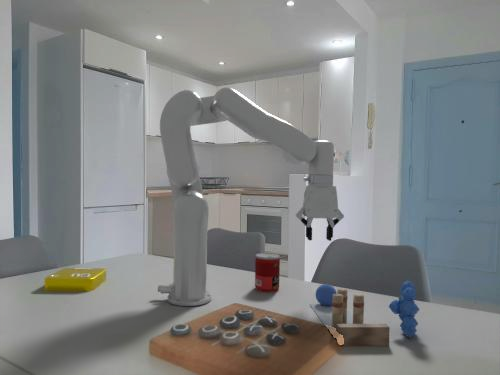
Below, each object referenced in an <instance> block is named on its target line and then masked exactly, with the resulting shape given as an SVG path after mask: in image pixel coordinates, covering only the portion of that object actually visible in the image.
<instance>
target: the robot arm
mask: <svg viewBox="0 0 500 375" xmlns="http://www.w3.org/2000/svg"><path fill="white" fill-rule="evenodd" d="M161 111H162V112H161V115H160V117H159V118H160V119H159V120H160V121H159V130H160V131H159V132H160V134H159V135H160V139H161V145H162V150H163V155H164V160H165V164H166V174H167V178H168V181H169V182H168V183H169V187H170V191H171V195H172V199H173V203H174V209H173V210H174V211H173V221H174V222H173V228H174V230H173V275H172V276H173V280H172V283H170V284H168V285H164V284H158V286H157V292H158V293H160V294H168V295H167V302H168V303H170V304H171V305H175V306H179V307H181V306H182V307H194V306H200V305H205V304H208V303H209V302H211V300H212V295H211V293H209V292H208V291H207V273H208V272H207V268H208V267H207V265H208V264H207V263H208V262H207V261H208V259H207V258H208V229H209V228H208V227H209V226H208V225H209V204H208V201H207V199H206V196H205V195H204V190H203V187H202V181H201V177H200V167H199V164H198V161H197V158H196V154H195V149H194V144H193V138H192V134H191V127H193V126H201V125H208V124H217V123H222V122H226V121H228V122H230V123H231V124H233V125H234V126H235V127H236V128H238V129H240V130H241V131H243V132H244V133H246V134H247V135H249V136H250V137H252V138H254V139H256V140H259V141H264V142H268V143H270V144H272V145H274V146H276V147H278V148H279V149H281V150H282V156H283V159H284V161H285V162H287V163H289V164H290V165H301V164H302V165H304V164H308V174H307V176H305V177H303V182H306V183H307V185H305V189H304V195H303V205H302V206H301V208H300V209H299V210H298V211H297V212H296V213H295V217H296V218H297V219H298V220H299V221H300V222H301V223H302V224H303V225H304V226H305V237H306V238H307V240H308V241H312V240H313V227H312V224H313V220H314V219H326V221H327V226H326V234H325V236H326V237H325V238H326V240H327V241H329V242H330V241H332V239H333V237H334V228H335V226H336V225H337V224H339V222H340V221H342V220H343V219H344V218H345V214H343V212H341V210H340V209H339V205H338V204H339V203H338V202H339V201H338V191H337V186H336V185H334V162H335V161H334V158H335V157H334V156H335V146H334V142H332V141H329V140H314V141H313V139H312V138H311V137H310V136H308V135H307V134H305V133H304V132H303V131H302V130H300V129H298V128H297V127H296V126H295V125H293V124H291V123H290V122H289V123H288V122H287V121H286V120H283V119H281V118H279V117H277V116H275V115H272V114H271V113H268V112H267V111H266V110H264V109H262V108H261V107H259V105H256V103H254V102H253V101H251V100H250V99H248V98H247V97H246V96H244V95H243V94H241V93H240V92H239V91H237V90H236V89H234V88H232V87H229V86H228V87H227V86H226V87H221V88H220V89H219V90H218V91H216V93H215V94H214V95H210V96H204V97H200V95H199V94H198V93H197V92H195V91H193V90H190V89H184V90H180V91H178V92H177V93H175V94H174V95H172V97H171V98H170V99H169V100H168V101H167V102H166V104H165V105H164V106H163V109H162V110H161ZM305 217H306V219H305Z"/></svg>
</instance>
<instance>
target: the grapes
mask: <svg viewBox="0 0 500 375" xmlns="http://www.w3.org/2000/svg"><path fill="white" fill-rule="evenodd" d="M399 291H400V293H401V295H399V297H398V300H397V299H394V300H392V301H391V302H390V303H389V305H388V307H389V309H390V311H391V312H392V313H393V314H394V315H398V318H399V319H400V320H401V323H400V324H399V326H400V328H401V329H400V330H401V331H402V332H403V334H404V335H405V336H406V337H408V338H412V337H413V336H415V334H416V332H417V331H418V329H417V328H416V327H417V326H418V325H419V322H418V321H417V319H416V318H415V317H416V315H417V314H418V312H419V311H420V308H419V307H418V305H417V304H416V302H415V301H414V300H415V299H416V298H417V297H418V294H417V293H416V287H415V285H414V283H413V282H411V281H410V280H406V281H404V282H403V283H402V284H401V286H400V288H399Z"/></svg>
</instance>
